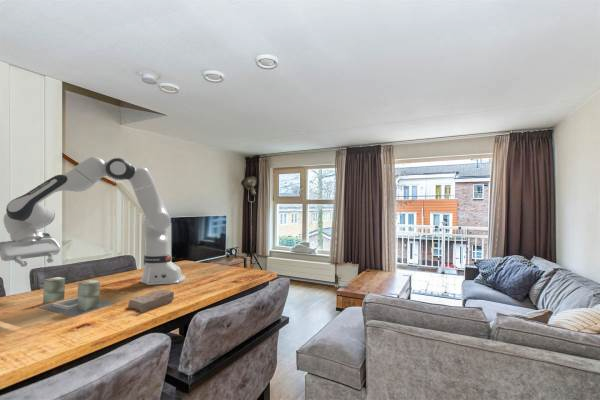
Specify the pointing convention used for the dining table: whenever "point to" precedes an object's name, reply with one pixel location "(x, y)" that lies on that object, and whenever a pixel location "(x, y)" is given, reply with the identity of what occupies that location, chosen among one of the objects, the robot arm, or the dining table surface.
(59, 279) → the column
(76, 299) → the base board
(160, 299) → the brick
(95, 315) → the dining table surface
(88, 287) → the column
